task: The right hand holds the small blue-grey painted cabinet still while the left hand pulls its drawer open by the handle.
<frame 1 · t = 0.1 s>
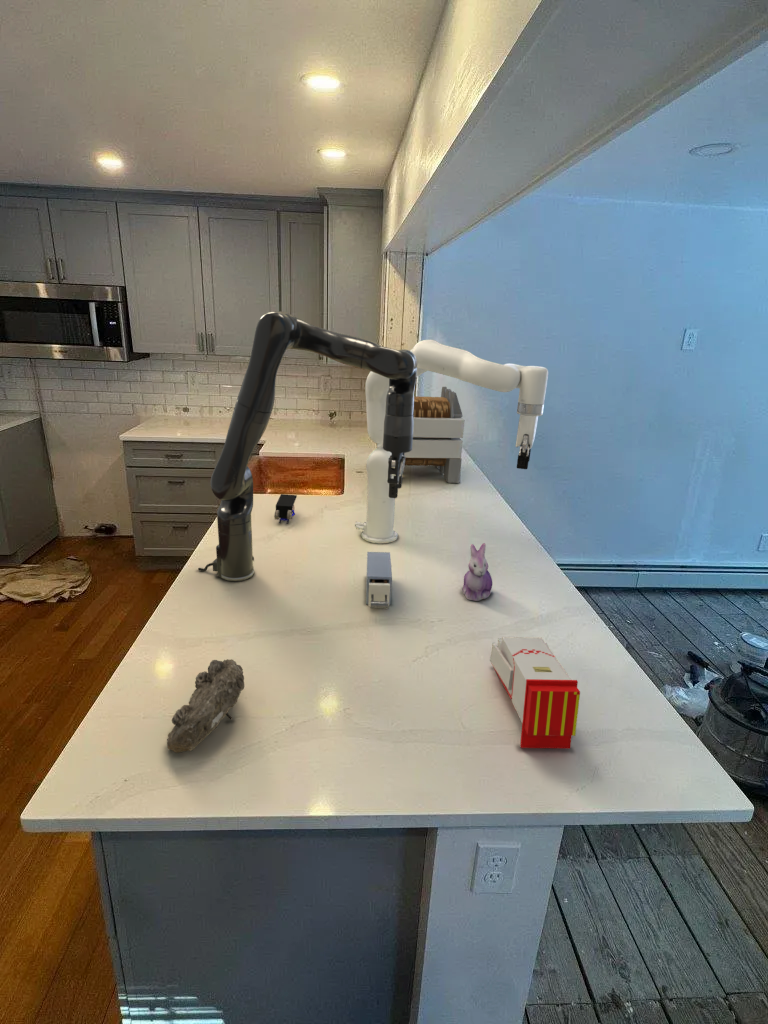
left hand: (395, 492, 149), 29 cm above the counter, tool pointing down, fingers open, 8 cm apart
right hand: (523, 464, 174), 31 cm above the counter, tool pointing down, fingers open, 9 cm apart
fossil: (212, 717, 108), on the counter
figurine: (476, 594, 160), on the counter
toy: (525, 700, 117), on the counter
figurine character: (286, 519, 209), on the counter
cabinet: (377, 590, 159), on the counter
drawer: (378, 588, 152), point 4 cm above the counter, slide at 1.8 cm
transformer: (419, 473, 275), on the counter
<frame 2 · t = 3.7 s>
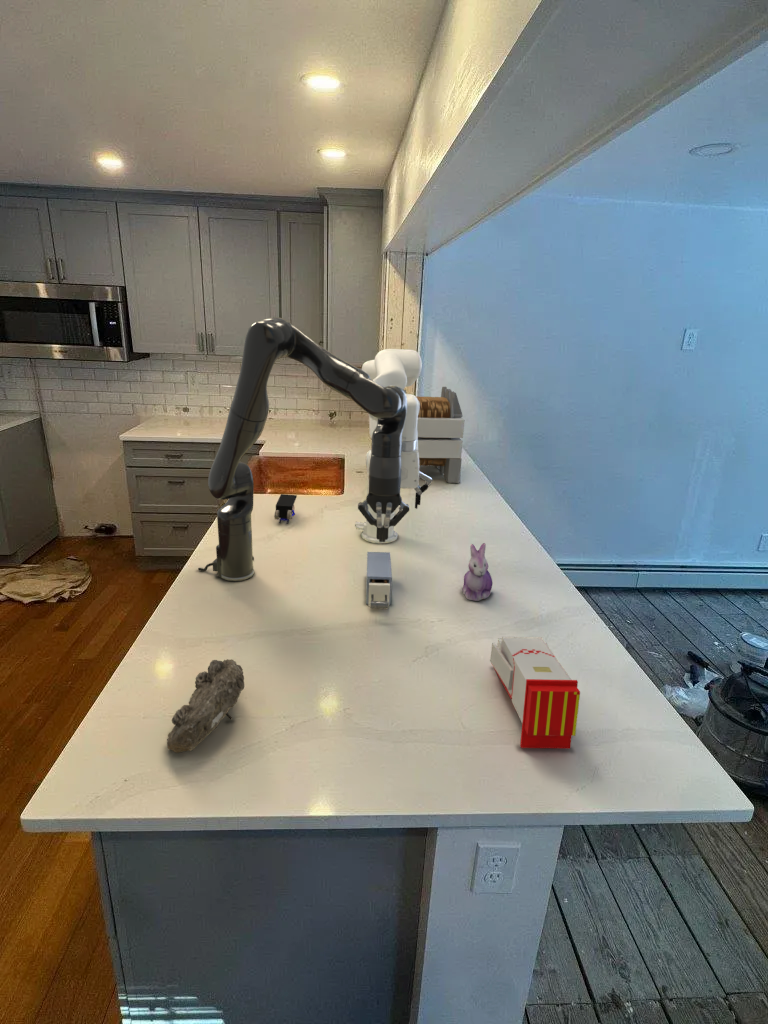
left hand: (382, 540, 139), 21 cm above the counter, tool pointing down, fingers closed
right hand: (398, 506, 157), 23 cm above the counter, tool pointing down, fingers open, 9 cm apart
nothing on the counter moved.
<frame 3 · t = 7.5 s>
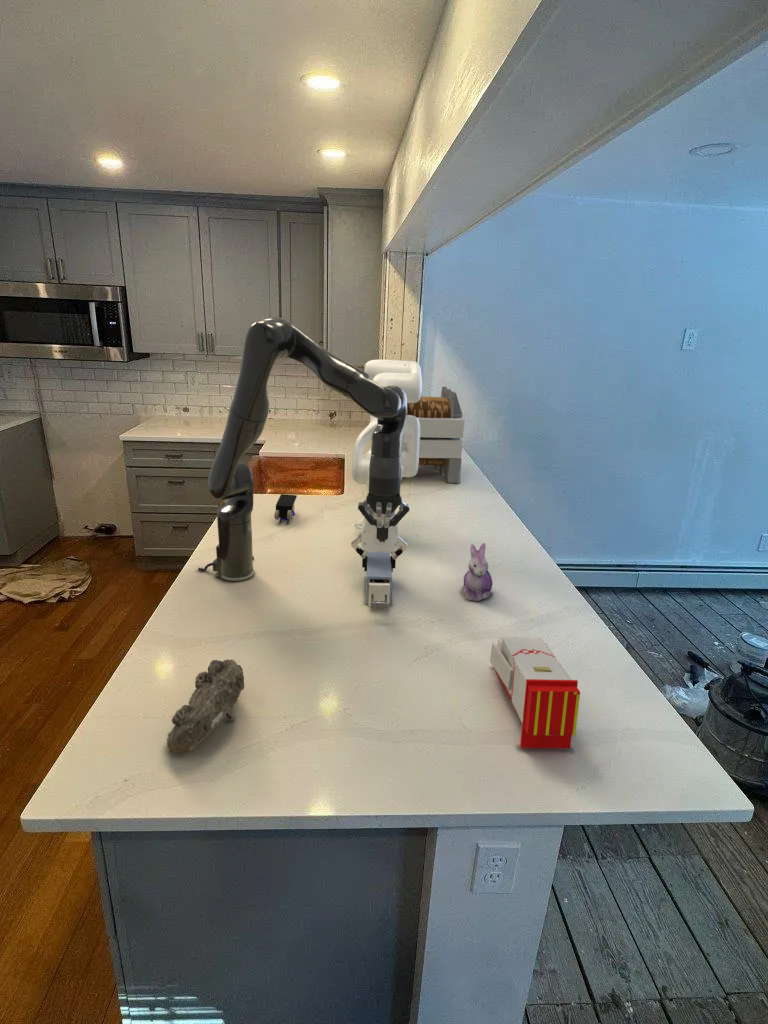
left hand: (382, 540, 139), 21 cm above the counter, tool pointing down, fingers closed
right hand: (378, 569, 161), 5 cm above the counter, tool pointing down, fingers closed on cabinet, 6 cm apart
cabinet: (377, 590, 159), on the counter, touching right hand
everything else where it was.
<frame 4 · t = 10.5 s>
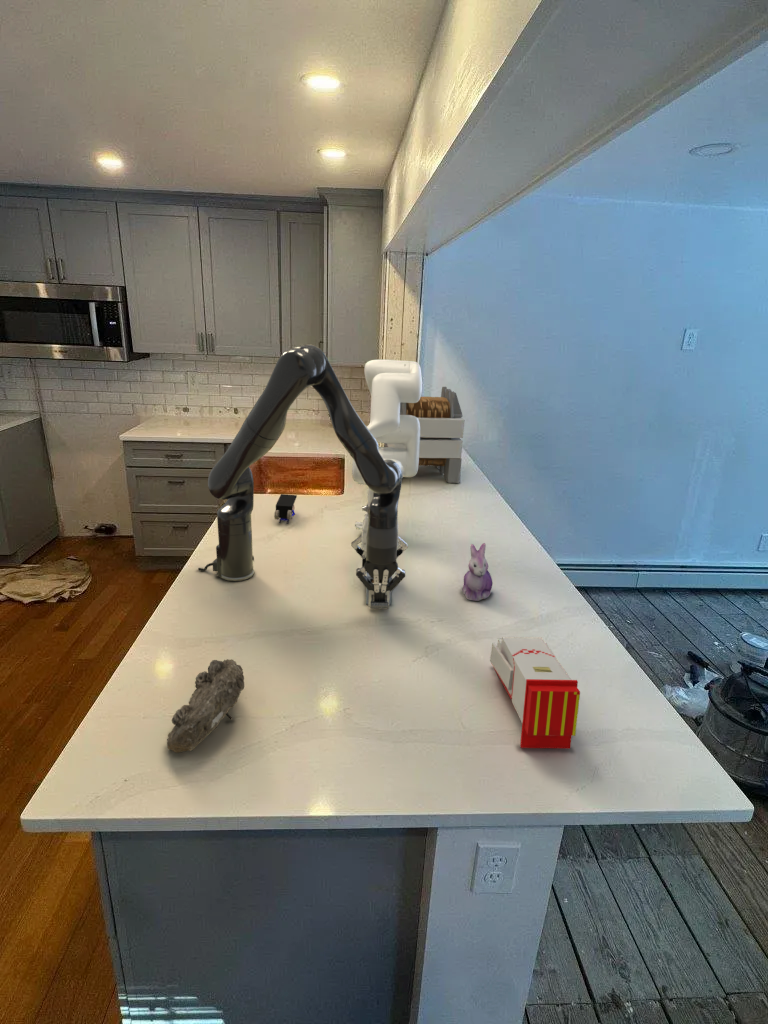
left hand: (379, 603, 145), 4 cm above the counter, tool pointing down, fingers closed
right hand: (378, 569, 161), 5 cm above the counter, tool pointing down, fingers closed on cabinet, 6 cm apart
cabinet: (377, 590, 159), on the counter, touching right hand
drawer: (378, 588, 152), point 4 cm above the counter, slide at 1.8 cm, touching left hand
everything else where it was.
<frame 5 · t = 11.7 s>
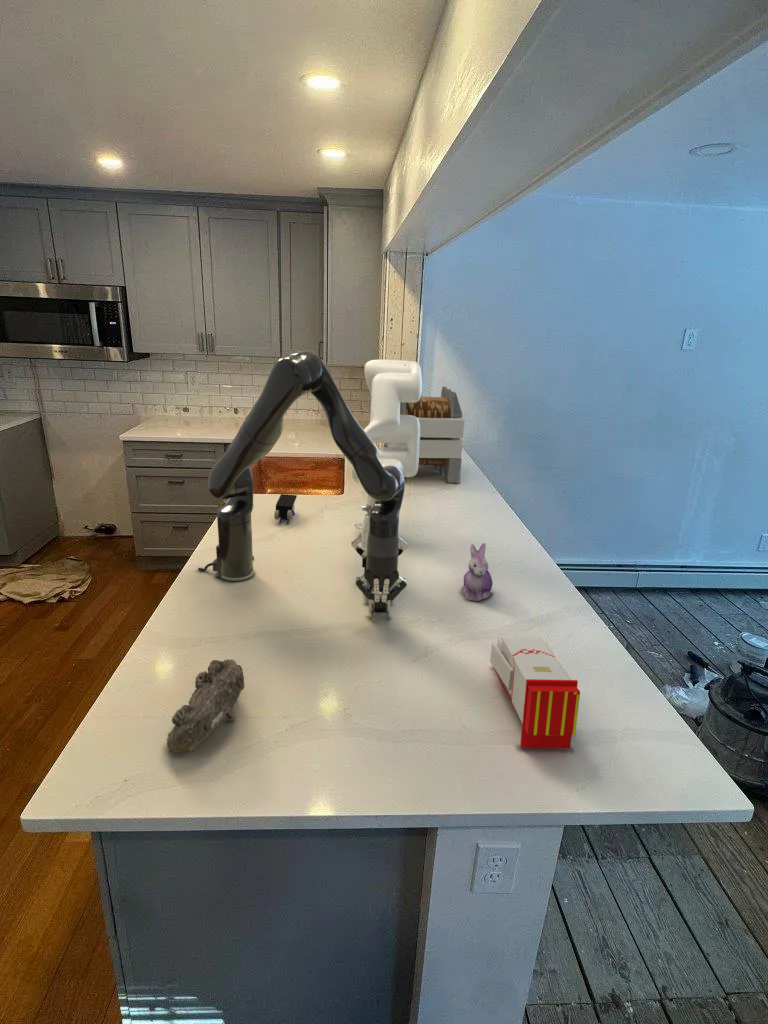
left hand: (379, 613, 141), 3 cm above the counter, tool pointing down, fingers closed
right hand: (378, 569, 160), 5 cm above the counter, tool pointing down, fingers closed on cabinet, 6 cm apart
cabinet: (378, 590, 159), on the counter, touching right hand
drawer: (379, 596, 147), point 4 cm above the counter, slide at 6.4 cm, touching left hand
everything else where it was.
when the right hand's fingers open (5 cm above the counter, at t = 13.2 s): cabinet stays where it is, on the counter.
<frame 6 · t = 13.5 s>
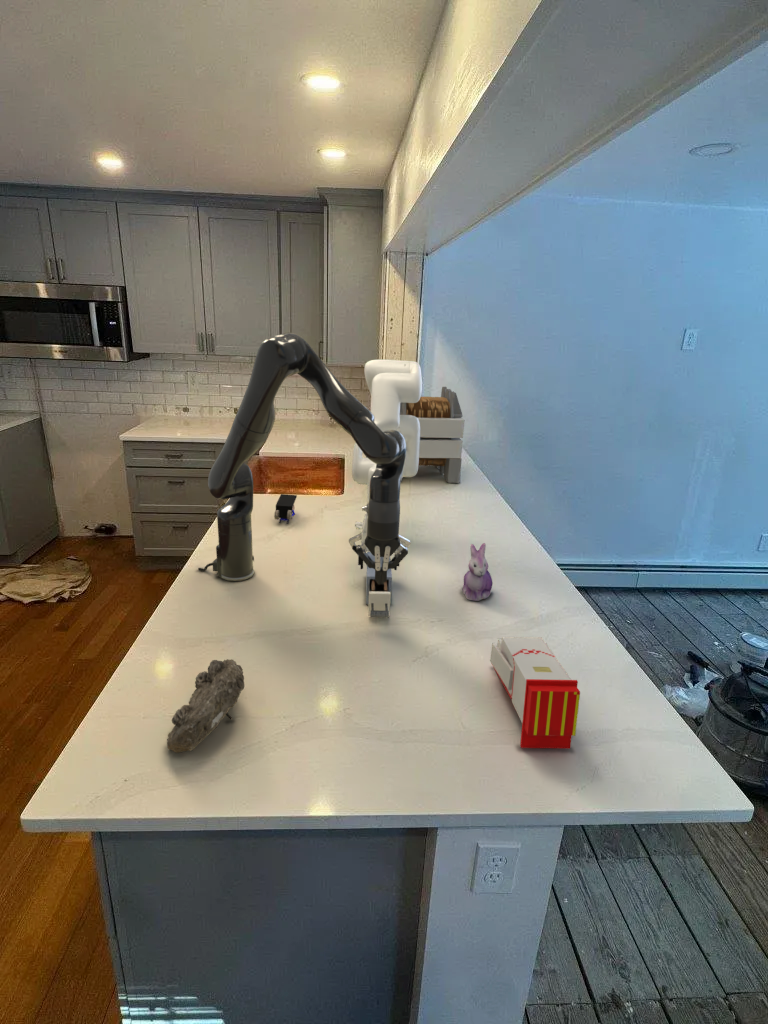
left hand: (380, 582, 138), 12 cm above the counter, tool pointing down, fingers closed
right hand: (378, 567, 160), 6 cm above the counter, tool pointing down, fingers open, 9 cm apart
cabinet: (377, 590, 159), on the counter
drawer: (379, 596, 147), point 4 cm above the counter, slide at 6.4 cm
everything else where it was.
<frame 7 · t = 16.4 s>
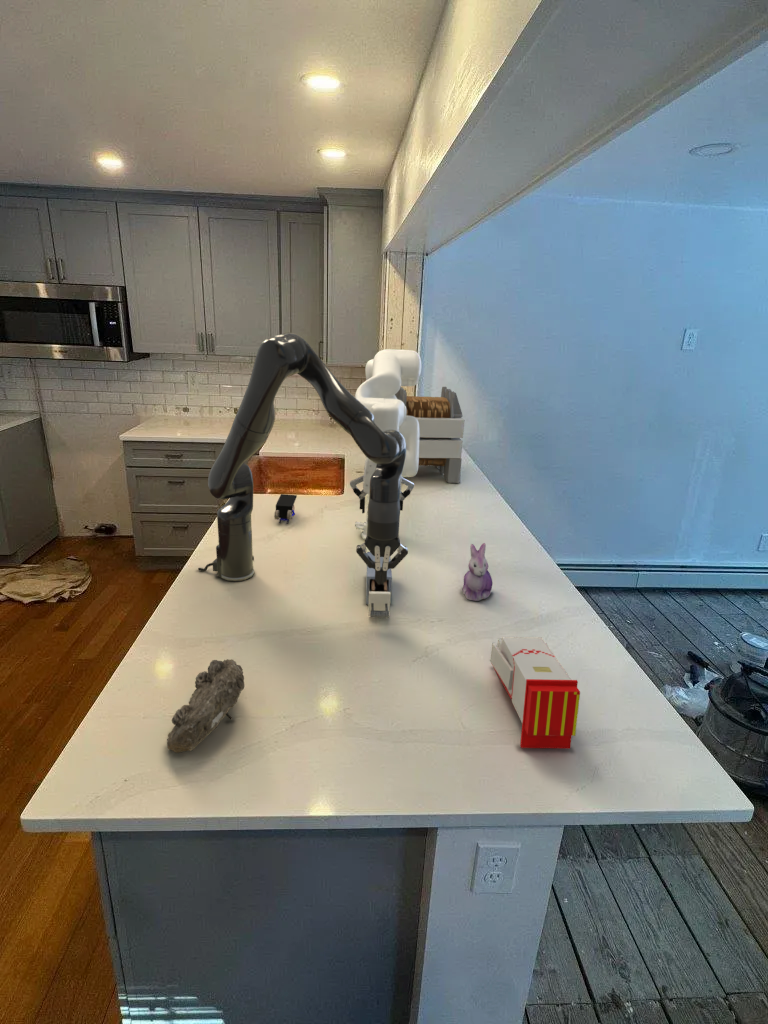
left hand: (380, 582, 138), 12 cm above the counter, tool pointing down, fingers closed
right hand: (380, 512, 155), 22 cm above the counter, tool pointing down, fingers open, 9 cm apart
nothing on the counter moved.
at the end: drawer slide at 6.4 cm; cabinet tilted 0°; cabinet never tilted more than 1° during the clip; cabinet moved 0.1 cm from its start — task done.
